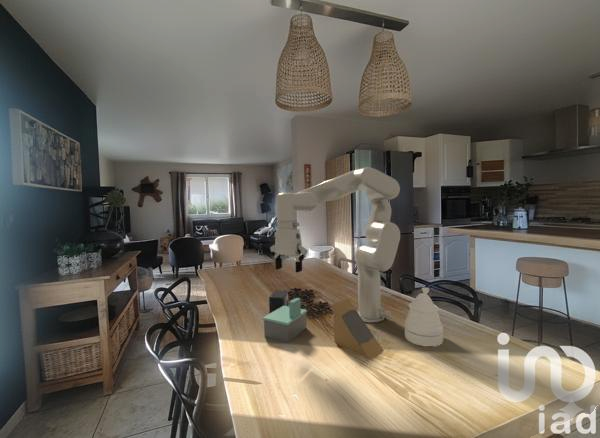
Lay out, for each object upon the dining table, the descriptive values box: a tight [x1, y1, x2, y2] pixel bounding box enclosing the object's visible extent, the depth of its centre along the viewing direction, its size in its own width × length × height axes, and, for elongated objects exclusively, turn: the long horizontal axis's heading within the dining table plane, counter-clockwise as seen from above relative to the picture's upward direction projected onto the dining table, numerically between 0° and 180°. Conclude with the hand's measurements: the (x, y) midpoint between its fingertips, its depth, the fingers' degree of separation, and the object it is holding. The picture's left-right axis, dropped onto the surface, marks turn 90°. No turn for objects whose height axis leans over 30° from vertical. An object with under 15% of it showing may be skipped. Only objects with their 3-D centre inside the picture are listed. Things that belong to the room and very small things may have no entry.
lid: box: [262, 297, 308, 325], centre depth 110 cm, size 11×14×8 cm
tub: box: [263, 312, 307, 343], centre depth 110 cm, size 11×14×7 cm
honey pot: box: [404, 287, 444, 347], centre depth 104 cm, size 13×13×18 cm
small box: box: [268, 289, 289, 314], centre depth 128 cm, size 11×6×10 cm, turn 168°
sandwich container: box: [332, 297, 384, 360], centre depth 98 cm, size 9×15×15 cm, turn 43°
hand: (288, 270), depth 109 cm, fingers open, 9 cm apart
